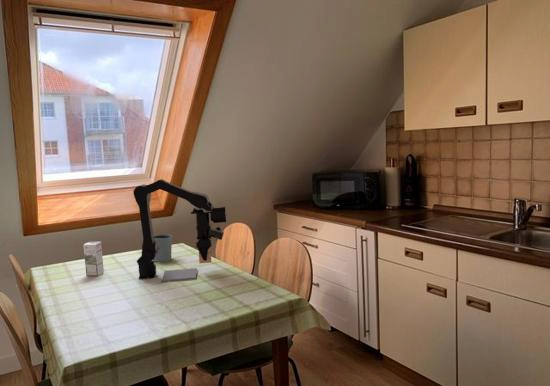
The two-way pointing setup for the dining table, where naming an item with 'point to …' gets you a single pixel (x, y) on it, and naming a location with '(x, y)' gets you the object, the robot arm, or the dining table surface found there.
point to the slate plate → (179, 274)
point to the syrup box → (93, 258)
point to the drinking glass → (163, 247)
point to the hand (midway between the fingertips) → (205, 259)
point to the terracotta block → (207, 257)
